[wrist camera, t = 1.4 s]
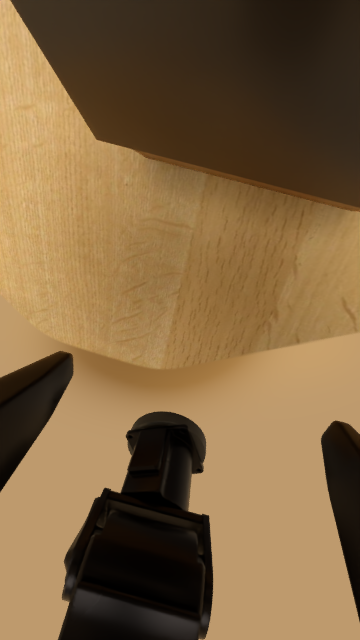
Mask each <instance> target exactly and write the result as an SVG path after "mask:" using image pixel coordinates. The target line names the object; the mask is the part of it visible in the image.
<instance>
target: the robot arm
mask: <svg viewBox="0 0 360 640" xmlns="http://www.w3.org/2000/svg"><path fill="white" fill-rule="evenodd" d="M72 376H73V356H72V354H71V353H67V352H63V351H59V352H56V353H54V354H52V355H50V356H47V357H45V358H43V359H41V360H39V361H36V362H34V363H32V364H30V365H28V366H25V367H23V368H21V369H19V370H17V371H14V372H12V373H10V374H8V375H5V376H3V377H1V378H0V492H1V490H2V489H3V487H4V486H5V484H6V483H7V481H8V480H9V478H10V477H11V475H12V474H13V472H14V471H15V470H16V468H17V467H18V465H19V464H20V462H21V461H22V459H23V458H24V456H25V455H26V453H27V452H28V450H29V449H30V447H31V446H32V444H33V443H34V441H35V440H36V439H37V437H38V436H39V434H40V433H41V431H42V430H43V428H44V427H45V425H46V424H47V422H48V421H49V419H50V417H51V416H52V414H53V412H54V410H55V408H56V406H57V404H58V403H59V401H60V399H61V397H62V395H63V393H64V391H65V390H66V388H67V386H68V384H69V382H70V380H71V378H72ZM126 438H127V440H128V442H129V444H130V446H131V448H132V450H133V454H132V457H131V460H130V463H129V466H128V469H127V470H128V472H127V475H126V478H125V481H124V484H123V487H122V490H121V493H118V492H114V491H111V489H108V488H104V490H103V492H102V494H101V496H100V497H98V498H95V500H94V502H93V505H92V507H91V510H90V512H89V515H88V517H87V519H86V521H85V523H84V525H83V526H82V528H81V530H80V531H79V533H78V535H77V537H76V538H75V540H74V542H73V543H72V545H71V547H70V548H69V550H68V552H67V554H66V557H65V560H64V564H65V568H66V572H67V573H66V577H65V585H64V589H63V594H62V600H65V601H68V602H70V603H69V606H68V609H67V613H66V616H65V619H64V622H63V625H62V628H61V632H60V635H59V638H58V640H198V639H202V640H203V639H205V637H206V634H207V631H208V627H209V622H210V616H211V608H212V596H213V595H212V594H213V567H212V552H211V537H210V523H209V515H205V514H202V515H200V514H196V513H192V512H189V511H188V508H189V498H190V487H191V476H192V474H197V473H202V472H203V469H204V467H203V463H202V461H201V458H200V456H199V453H198V450H197V448H196V445H195V442H194V440H193V437H192V434H191V432H190V429H189V427H188V426H187V425H185V424H180V425H172V426H163V427H154V428H145V429H137V430H129V431H128V432H127V434H126ZM321 445H322V452H323V459H324V466H325V473H326V480H327V486H328V492H329V496H330V501H331V505H332V509H333V513H334V517H335V521H336V525H337V529H338V534H339V538H340V542H341V546H342V550H343V555H344V559H345V563H346V567H347V571H348V575H349V579H350V584H351V588H352V592H353V596H354V600H355V604H356V608H357V612H358V617H359V621H360V434H359V433H358V432H357V431H356V430H355V429H354V428H353V427H352V426H350V425H349V424H347V423H344V422H340V421H334V422H332V423H331V425H330V426H329V427H328V428H327V430H326V431H325V432H324V434H323V435H322V438H321Z"/></svg>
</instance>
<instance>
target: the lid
mask: <svg viewBox="0 0 360 640" xmlns="http://www.w3.org/2000/svg"><path fill="white" fill-rule="evenodd" d="M10 1H11V2H12V4H13V5H14V7H15V9H16V10H17V12H18V13H19V15H20V17H21V18H22V20H23V22H24V23H25V25H26V26H27V28H28V30H29V31H30V33H31V35H32V36H33V38H34V39H35V41H36V43H37V44H38V46H39V47H40V49H41V51H42V52H43V54H44V56H45V57H46V59H47V60H48V62H49V64H50V65H51V67H52V68H53V70H54V72H55V73H56V75H57V77H58V78H59V80H60V81H61V83H62V85H63V86H64V88H65V89H66V91H67V93H68V94H69V96H70V98H71V99H72V101H73V102H74V104H75V106H76V107H77V109H78V110H79V112H80V114H81V115H82V117H83V119H84V120H85V122H86V123H87V125H88V127H89V128H90V130H91V132H92V133H93V135H94V136H95V138H96V139H97V140H99V141H103V142H107V143H111V144H115V145H119V146H123V147H126V148H130V149H134V150H138V151H142V152H146V153H150V154H153V155H157V156H161V157H165V158H169V159H173V160H177V161H180V162H184V163H188V164H192V165H196V166H200V167H204V168H207V169H211V170H215V171H219V172H223V173H227V174H231V175H234V176H238V177H242V178H246V179H250V180H254V181H258V182H261V183H265V184H269V185H273V186H277V187H281V188H285V189H288V190H292V191H296V192H300V193H304V194H308V195H312V196H315V197H319V198H323V199H327V200H331V201H335V202H339V203H342V204H346V205H350V206H354V207H358V208H360V0H10Z"/></svg>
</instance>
